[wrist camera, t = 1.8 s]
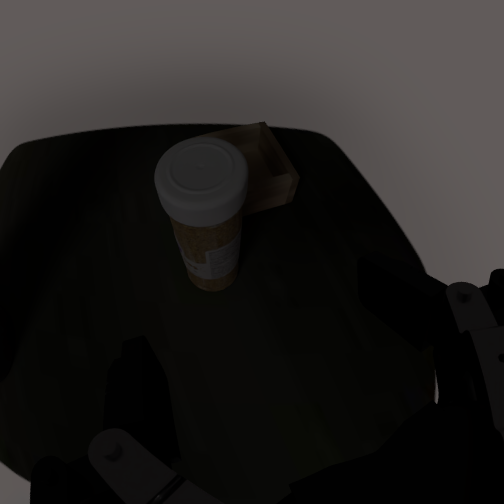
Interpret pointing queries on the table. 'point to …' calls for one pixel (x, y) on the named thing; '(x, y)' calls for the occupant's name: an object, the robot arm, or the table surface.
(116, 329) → the table surface
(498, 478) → the robot arm
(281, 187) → the oak socket block
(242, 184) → the sprinkles bottle
